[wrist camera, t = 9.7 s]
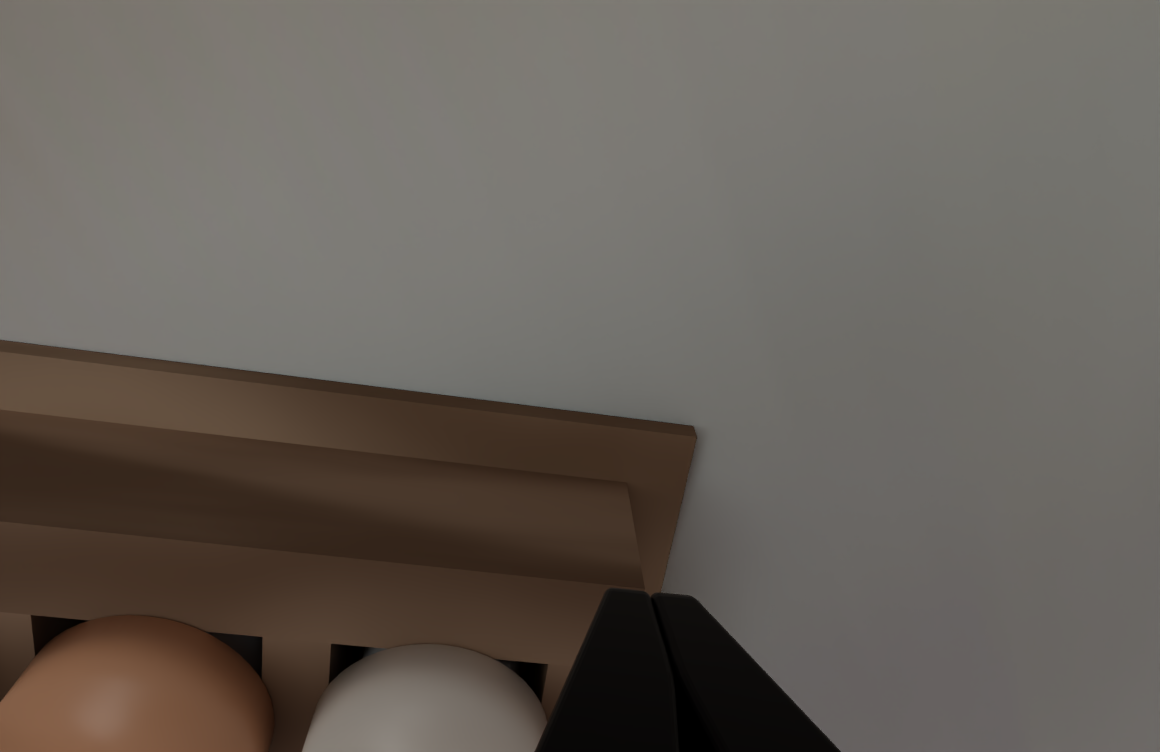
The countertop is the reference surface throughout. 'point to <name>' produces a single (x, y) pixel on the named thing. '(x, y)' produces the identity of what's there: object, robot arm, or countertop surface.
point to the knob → (427, 704)
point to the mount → (318, 516)
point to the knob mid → (140, 691)
